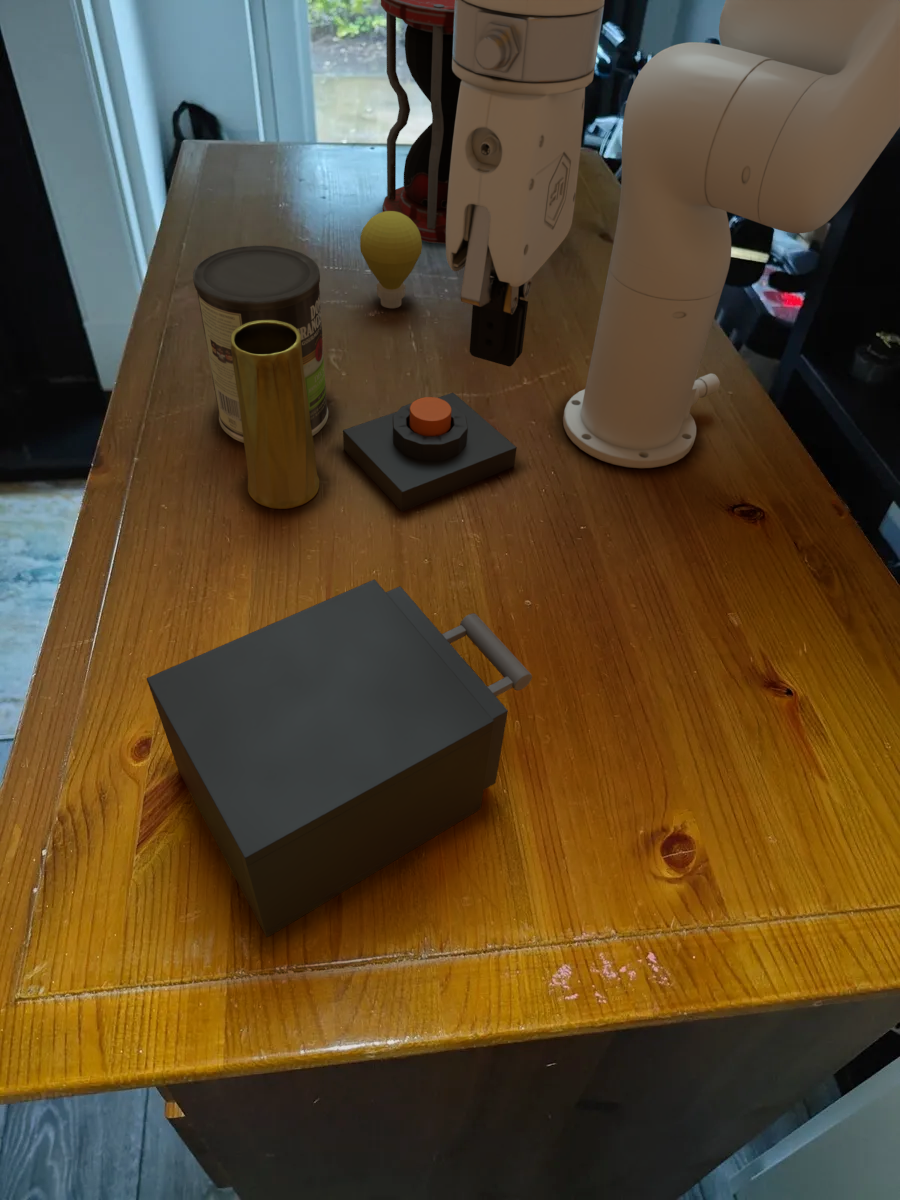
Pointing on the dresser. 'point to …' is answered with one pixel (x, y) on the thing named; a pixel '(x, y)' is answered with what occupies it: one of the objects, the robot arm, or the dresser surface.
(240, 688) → the dark grey box
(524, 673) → the drawer
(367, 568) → the dresser surface
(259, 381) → the vase
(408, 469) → the control block
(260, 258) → the coffee can
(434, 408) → the button
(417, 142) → the hourglass
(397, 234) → the light bulb
